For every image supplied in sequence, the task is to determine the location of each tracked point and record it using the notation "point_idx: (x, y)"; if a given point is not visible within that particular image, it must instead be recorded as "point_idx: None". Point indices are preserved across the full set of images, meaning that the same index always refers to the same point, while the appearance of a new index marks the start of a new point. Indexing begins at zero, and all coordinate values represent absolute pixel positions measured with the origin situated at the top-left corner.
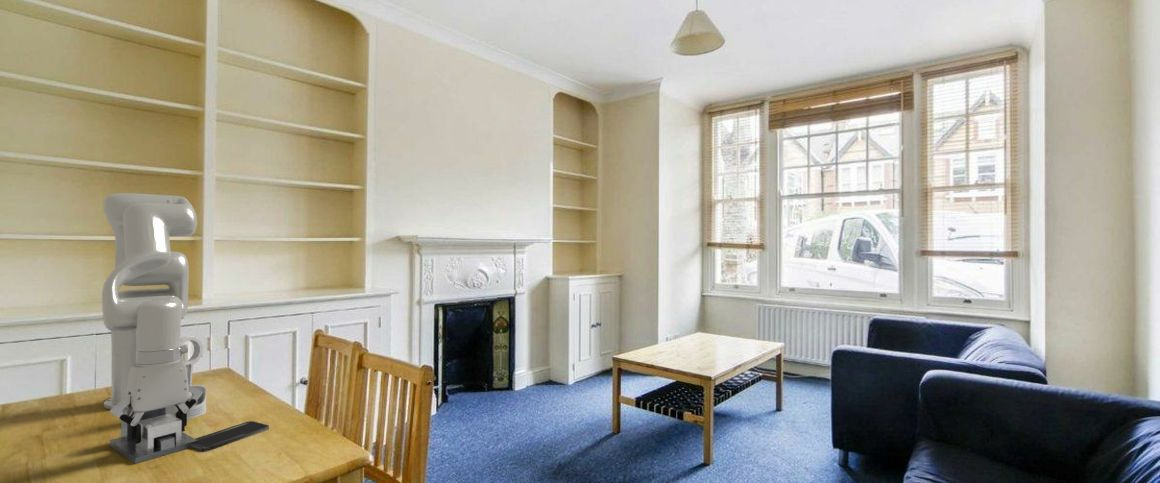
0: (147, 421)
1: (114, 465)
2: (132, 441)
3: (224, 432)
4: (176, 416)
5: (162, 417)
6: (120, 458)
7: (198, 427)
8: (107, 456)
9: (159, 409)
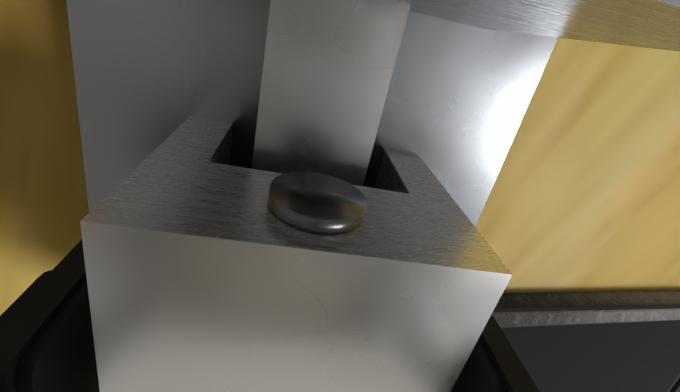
0: (196, 341)
1: (27, 258)
2: (198, 9)
3: (562, 337)
4: (470, 381)
5: (373, 341)
6: (78, 179)
7: (674, 63)
8: (10, 45)
9: (615, 26)
